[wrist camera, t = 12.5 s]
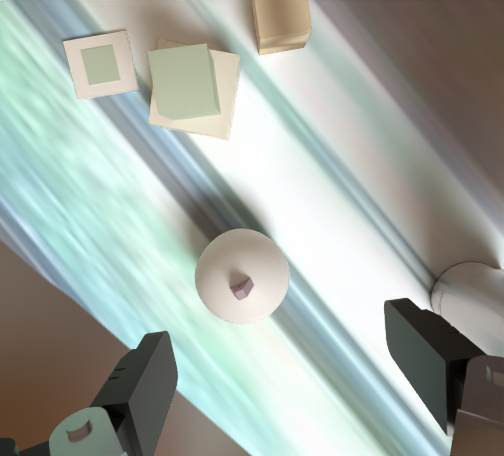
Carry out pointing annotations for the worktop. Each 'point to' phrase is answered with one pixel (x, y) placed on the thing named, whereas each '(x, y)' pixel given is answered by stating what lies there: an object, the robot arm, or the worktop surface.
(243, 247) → the ornament
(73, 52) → the card
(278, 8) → the birch cube
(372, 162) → the worktop surface
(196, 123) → the base block
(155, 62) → the sage cube
